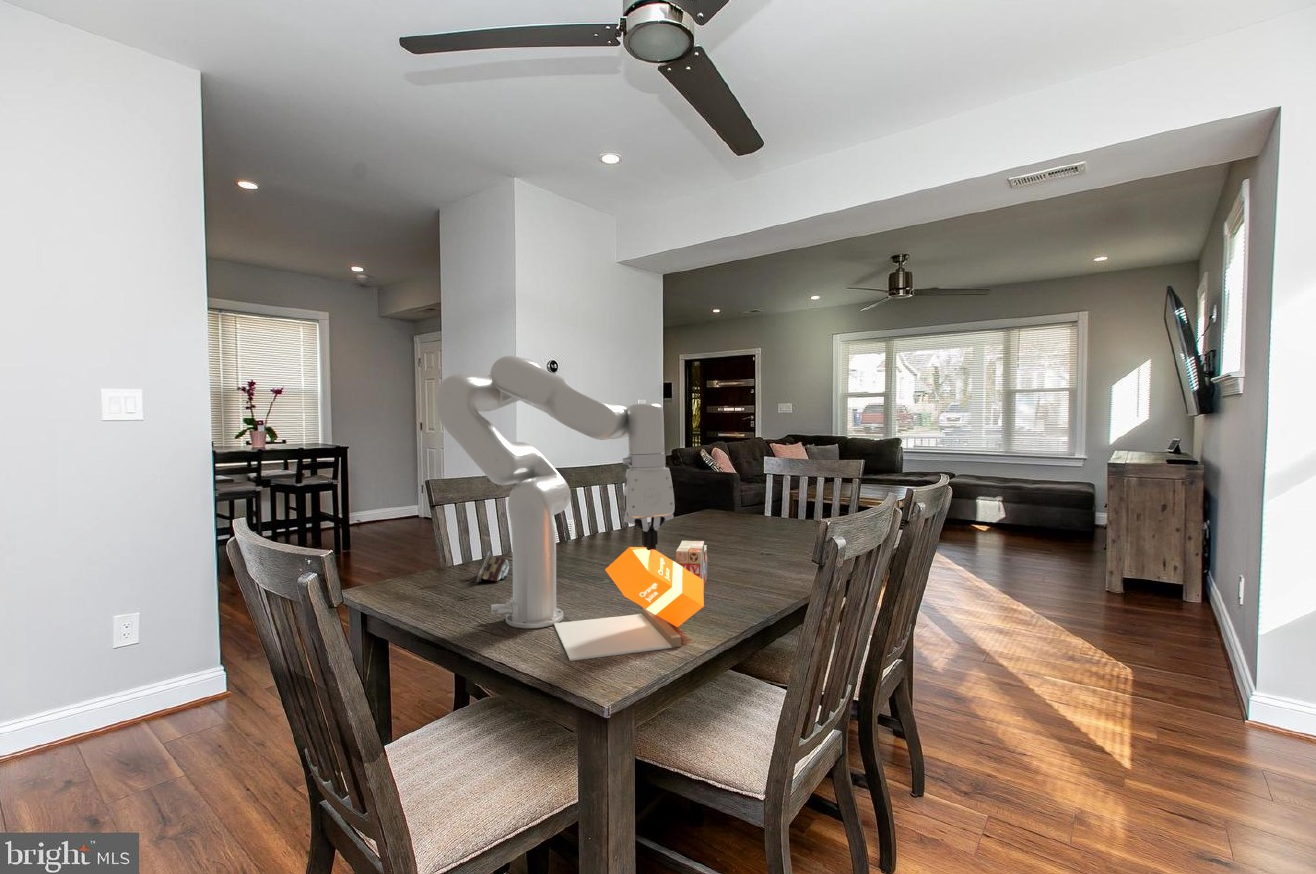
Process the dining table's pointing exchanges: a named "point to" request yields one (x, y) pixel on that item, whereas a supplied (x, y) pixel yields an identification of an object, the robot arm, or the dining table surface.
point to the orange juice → (657, 584)
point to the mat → (616, 635)
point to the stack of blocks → (693, 558)
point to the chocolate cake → (493, 568)
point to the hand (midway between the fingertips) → (650, 548)
